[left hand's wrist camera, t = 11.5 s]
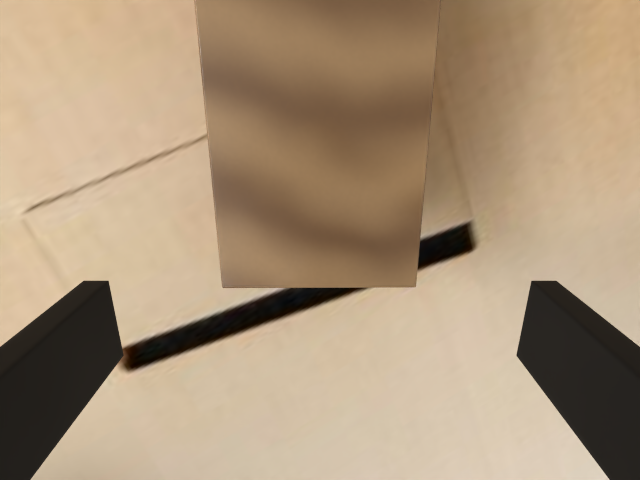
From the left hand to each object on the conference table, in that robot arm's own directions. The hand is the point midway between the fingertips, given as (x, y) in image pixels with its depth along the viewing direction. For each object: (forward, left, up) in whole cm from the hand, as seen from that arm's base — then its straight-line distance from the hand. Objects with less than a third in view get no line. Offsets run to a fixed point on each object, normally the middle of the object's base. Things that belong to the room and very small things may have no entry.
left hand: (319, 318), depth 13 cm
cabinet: (+6, +2, -18) cm, 19 cm away
